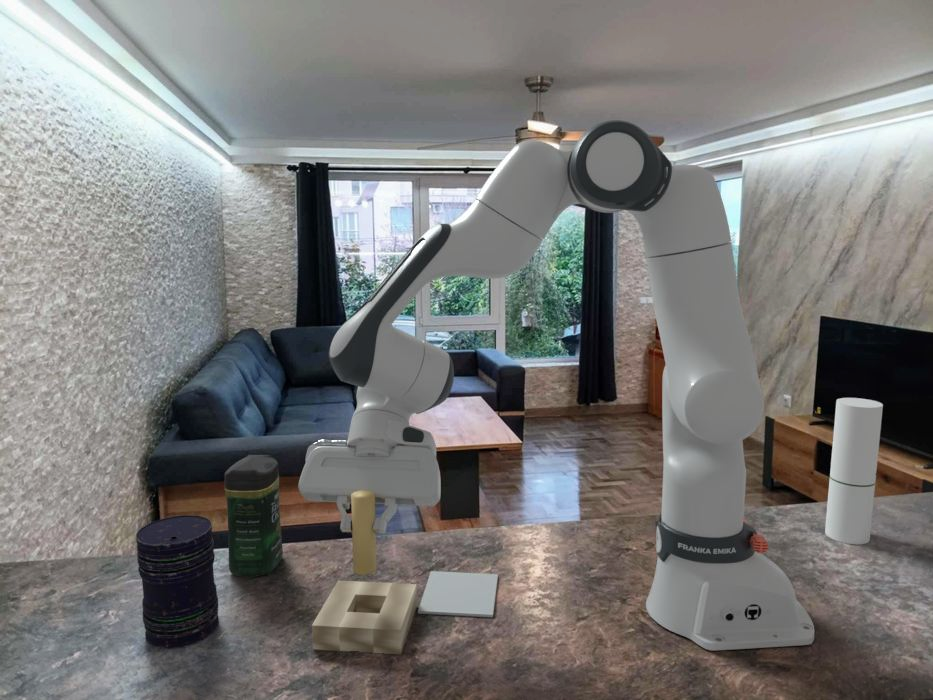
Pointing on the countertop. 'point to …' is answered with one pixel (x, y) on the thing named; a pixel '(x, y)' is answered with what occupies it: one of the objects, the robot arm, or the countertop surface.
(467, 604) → the mat
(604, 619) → the countertop surface
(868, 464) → the cylindrical container
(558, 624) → the countertop surface
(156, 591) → the dark blue cylinder
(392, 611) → the hole block
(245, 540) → the coffee jar
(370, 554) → the peg
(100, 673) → the countertop surface
